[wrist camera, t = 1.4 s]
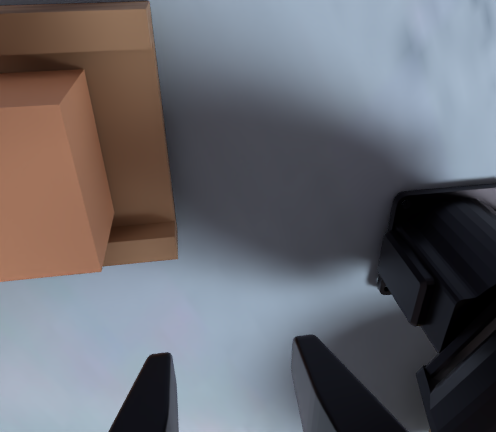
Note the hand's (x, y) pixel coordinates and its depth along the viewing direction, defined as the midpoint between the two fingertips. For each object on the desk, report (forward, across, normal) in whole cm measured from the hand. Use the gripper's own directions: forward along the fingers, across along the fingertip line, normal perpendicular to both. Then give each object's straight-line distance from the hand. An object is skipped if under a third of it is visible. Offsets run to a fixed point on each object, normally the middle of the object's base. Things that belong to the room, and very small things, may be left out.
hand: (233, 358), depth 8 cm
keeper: (+11, +6, 0) cm, 13 cm away
